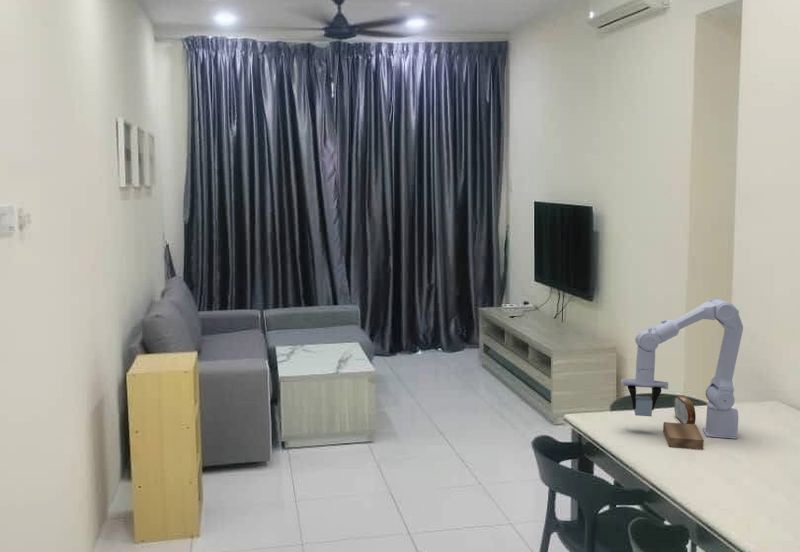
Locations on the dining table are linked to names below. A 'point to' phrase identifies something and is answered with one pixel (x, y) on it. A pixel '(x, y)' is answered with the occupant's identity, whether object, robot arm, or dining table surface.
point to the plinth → (683, 435)
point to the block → (643, 406)
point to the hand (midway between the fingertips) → (643, 408)
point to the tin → (684, 410)
